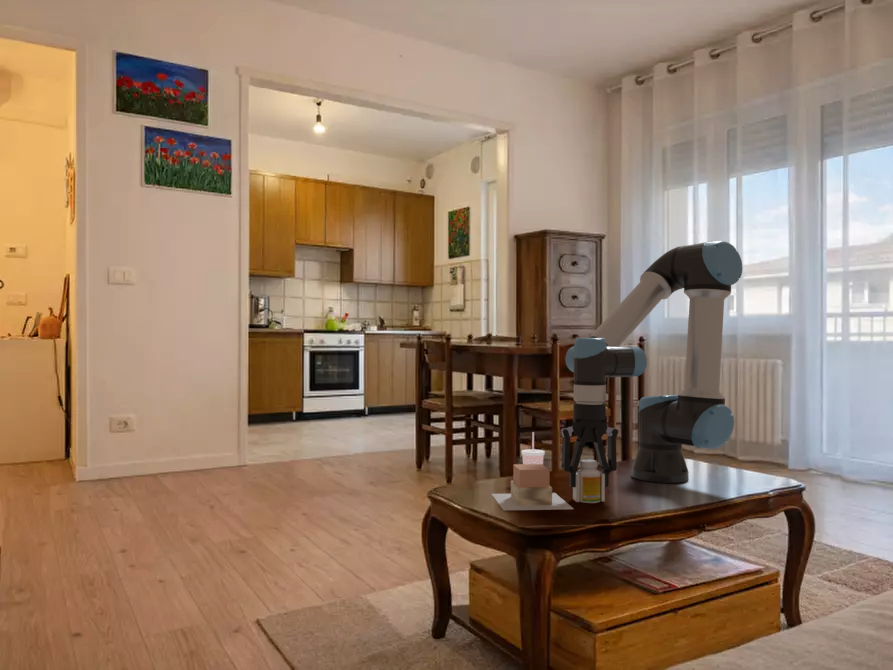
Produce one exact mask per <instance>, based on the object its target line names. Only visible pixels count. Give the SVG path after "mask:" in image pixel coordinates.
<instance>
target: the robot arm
mask: <svg viewBox="0 0 893 670" xmlns="http://www.w3.org/2000/svg"><path fill="white" fill-rule="evenodd" d="M742 274H743V261H742V257H741V255H740V253H739V251H738V250H737V249H736V248H735V246H734V245H733V244H732V243H730V242H728V241H725V240H716V241H713V240H711V241H710V240H709V241H706V242H700V243H693V244H689V245H681V246H676V247H674V248H672V249H670V250H668V251H667V252H665V253H664V254H661V256H660V257H658V259H656V260H655V261H654V262H653V263H652V264H650V265H649V266H648V267H647V268H646V270H645V271H643V273H642V274H641V275H640V277H639V281H640V282H639V283H638V284H637V285H636V286H635V287H634V288H633V289H632V290H631V292H629V293H628V294H627V295H626V297H625V298H624V299H623V300H622V301H621V302H620V303H619V305H617V307H616V308H615V309H614V310H613V311H612V312H611V313H610V314H609V315H608V317H606V319H605V320H604V321H603V322H602V323H601V324H600V325H599V326H598V327H597V329H595V330H594V331H593V333H592V334H591V335H590V336H589V337H578V338H576V339H575V341H574V345H573V346H571V347H570V348H568V350H567V352H566V354H565V358H564V359H565V364H566V367H567V369H568V370H569V371H570V372H572V373H573V401H574V404H572V405H573V406H572V407H573V410H572V411H573V415H572V416H573V417H572V419H573V421H572V424H570V425H571V426H568V427H565V428H564V427H562V428H560V430H559V431H560V434H561V437H562V440H561V441H562V443H561V444H562V445H561V467H560V468H561V470H563V471H565V472H567V473H568V475H569V476H568V478H569V479H568V483H569V487H570V488H572V500H573V501H575V502H576V503H580V501H579V500H580V474H578V470H579V469H578V468H579V464H580V461H581V459H582V458H581V457H582V454H583V450H584V447H585V446H586V443H589V442H591V443H592V444H593V445H594V449H595V451H596V455H597V459H598V460H597V461H598V463H599V468H600V470H601V471H600V475H601V480H600V502H605V501H606V500H605V499H606V498H605V497H606V496H605V495H606V490H605V489H606V488H607V487H609V486H610V485H609V482H610V478H609V477H610V474H611V472H613V471H614V472H615V471H617V469H618V467H617V460H618V459H617V437H618V434H619V430H618V429H616V428H614V427H609V426H608V424H607V423H606V414H607V411H606V409H607V408H606V407H607V405H606V404H605V402H606V401H607V395H606V394H607V378H633V377H639V376H641V375H642V374H644V373H645V370H646V369H647V365H648V364H647V363H648V361H647V360H648V359H647V355H646V353H645V351H644V350H643V349H642V348H641V347H638V346H632V345H625V346H624V345H622V344H623V343H624V342H625V341H626V340H627V339H628V338H629V337H630V335H631V334H632V333H633V332H634V330H636V328H637V327H638V326H640V324H641V323H642V322H643V321H644V320H645V319H646V318H647V316H648V315H649V314H650V313H651V312H652V311H653V309H655V307H656V306H657V305H658V304H659V303H660V302H661V301H662V300H666V299H668V298H669V297H670V296H671V295H672V294H673V293H675V292H678V291H679V290H682V289H683V293H684V294H685V295H686V296H687V297H688V300H689V301H688V321H687V335H686V336H687V338H686V339H687V340H686V356H685V357H686V358H685V374H684V388H683V389H682V390H681V391H680V392H678V393H677V394H669V395H655V396H654V395H653V396H643V397H641V398H640V400H639V402H638V403H639V404H638V411H637V415H638V417H637V418H638V420H637V421H638V424H637V425H638V447H637V448H638V450H637V453H636V456H635V459H634V461H633V465H632V468H631V477H632V478H634V479H637V480H640V481H645V482H652V483H662V484H663V483H664V484H678V483H679V484H680V483H684V482H685V483H686V482H687V481H689V479H690V478H689V476H690V475H689V470H688V469H689V468H688V467H687V464H686V463H687V462H686V460H685V457H684V453H683V446H690V447H695V448H697V449H706V450H707V449H708V450H714V449H719V448H721V447H723V446H724V445H725V444H726V442H727V441H728V440H729V439H730V438H731V435H732V434H733V431H734V429H735V428H734V427H735V417H734V416H735V415H734V414H733V412H732V410H731V409H730V407H728V406H727V405H726V404H725V403H726V396H725V395H723V393H721V391H720V381H721V365H722V364H721V363H722V349H723V348H722V346H723V345H722V344H723V331H724V330H723V329H724V328H723V327H724V313H725V312H724V311H725V300H726V299H727V298H728V297H729V296H731V294H732V285H735V284H737V283H738V282H739V280H740V279H741V277H742ZM573 433H574V435H575V436H576V439H575V445H574V449H573V452H572V457H570V456H571V437H572V434H573ZM605 433H606V436H607V456H606V453H605V449H604V443H603V439H602V437H603V436H604V435H605Z"/></svg>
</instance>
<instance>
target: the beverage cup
mask: <svg viewBox="0 0 893 670" xmlns="http://www.w3.org/2000/svg"><path fill="white" fill-rule="evenodd" d="M531 433H532V434H531V437H532V438H531V449H529V448H528V449H522V450H521V455H522V464H543V465H544V456H545V453H546V451H545V450H542V449H536V448H535V431H532V432H531Z"/></svg>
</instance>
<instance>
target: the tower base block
mask: <svg viewBox="0 0 893 670" xmlns="http://www.w3.org/2000/svg"><path fill="white" fill-rule="evenodd" d="M552 493H553V487H552V486H551V485H550V484H549V487H519V486H518V485H517V484H516V483H515V482H514V481H513V480H511V481H510V494H511V498H512V499H513V501H514V502H515V503H516V504H517V505H518V506H520V505H552Z"/></svg>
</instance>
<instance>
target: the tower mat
mask: <svg viewBox="0 0 893 670" xmlns="http://www.w3.org/2000/svg"><path fill="white" fill-rule="evenodd" d="M491 496H492V497H493V498H494V500H496V502H497V503H498V505H499V506H500V508H501V509H502V510H503V511H542V510H543V511H544V510H545V511H549V510H550V511H551V510H553V511H555V510H560V511H561V510H575V509H574V507H572V505H570V504H569V503H568V502H566V500H564V499H563V498H562V497H560V496H559V495H558V494H557V493H556V492H552V505H520V506H518V505H517V504H516V503H515V502H514V501H513V499H512V498H511V493H491Z"/></svg>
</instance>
